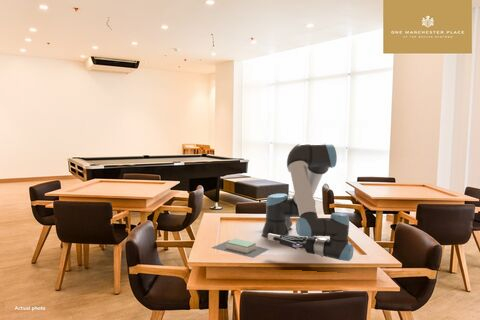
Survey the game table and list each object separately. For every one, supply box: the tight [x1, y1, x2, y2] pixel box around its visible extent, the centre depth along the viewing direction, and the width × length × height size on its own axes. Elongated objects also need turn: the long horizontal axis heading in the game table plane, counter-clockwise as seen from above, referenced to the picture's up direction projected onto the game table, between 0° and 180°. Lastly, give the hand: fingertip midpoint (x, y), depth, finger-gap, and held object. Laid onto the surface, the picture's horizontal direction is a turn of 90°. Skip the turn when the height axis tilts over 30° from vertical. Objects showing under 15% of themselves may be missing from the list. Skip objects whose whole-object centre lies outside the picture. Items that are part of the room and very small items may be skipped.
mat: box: [211, 240, 270, 259], centre depth 184 cm, size 24×16×1 cm, turn 58°
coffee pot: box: [258, 202, 293, 230], centre depth 228 cm, size 21×12×15 cm, turn 87°
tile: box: [226, 238, 257, 253], centre depth 183 cm, size 3×8×12 cm
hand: (268, 236), depth 175 cm, fingers closed
